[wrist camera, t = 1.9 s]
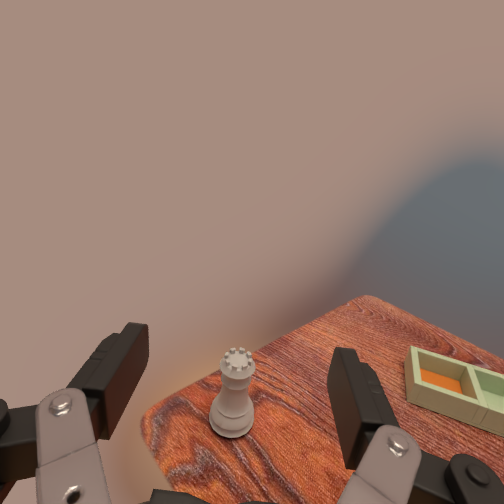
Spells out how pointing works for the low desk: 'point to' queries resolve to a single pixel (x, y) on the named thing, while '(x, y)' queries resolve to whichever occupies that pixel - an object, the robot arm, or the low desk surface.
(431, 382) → the socket pad
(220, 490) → the low desk surface
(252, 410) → the rook chess piece
